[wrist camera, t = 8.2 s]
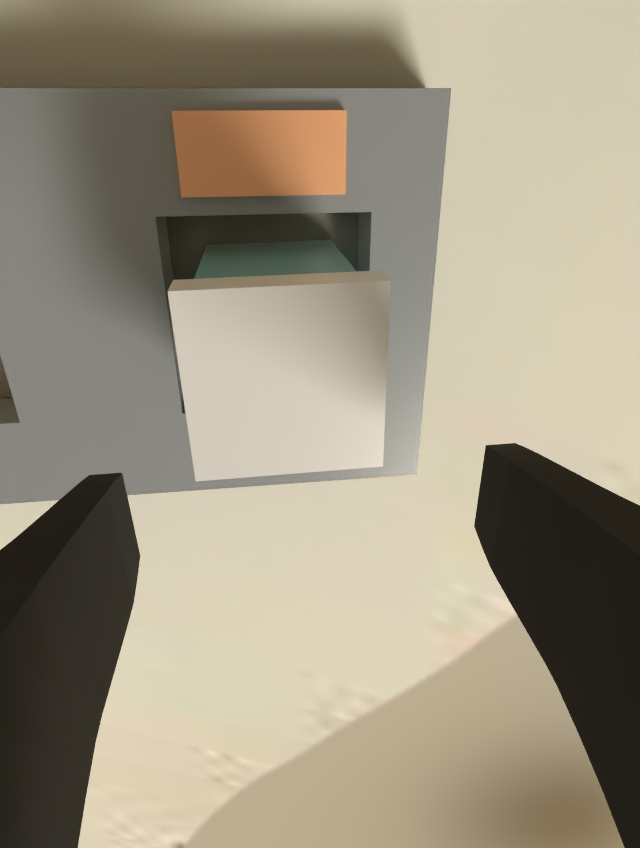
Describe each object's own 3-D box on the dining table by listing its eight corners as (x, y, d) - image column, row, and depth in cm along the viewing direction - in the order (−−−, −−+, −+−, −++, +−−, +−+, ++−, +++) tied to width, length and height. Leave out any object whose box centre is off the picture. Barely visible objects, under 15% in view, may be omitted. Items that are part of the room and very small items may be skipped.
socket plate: (-173, 484, 20) (-221, 525, 18) (-372, 93, 14) (-476, 86, 12) (403, 447, 22) (418, 479, 20) (428, 93, 16) (454, 87, 14)
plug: (211, 371, 19) (195, 481, 13) (195, 235, 17) (167, 291, 11) (340, 363, 20) (383, 466, 14) (340, 229, 18) (390, 280, 12)
